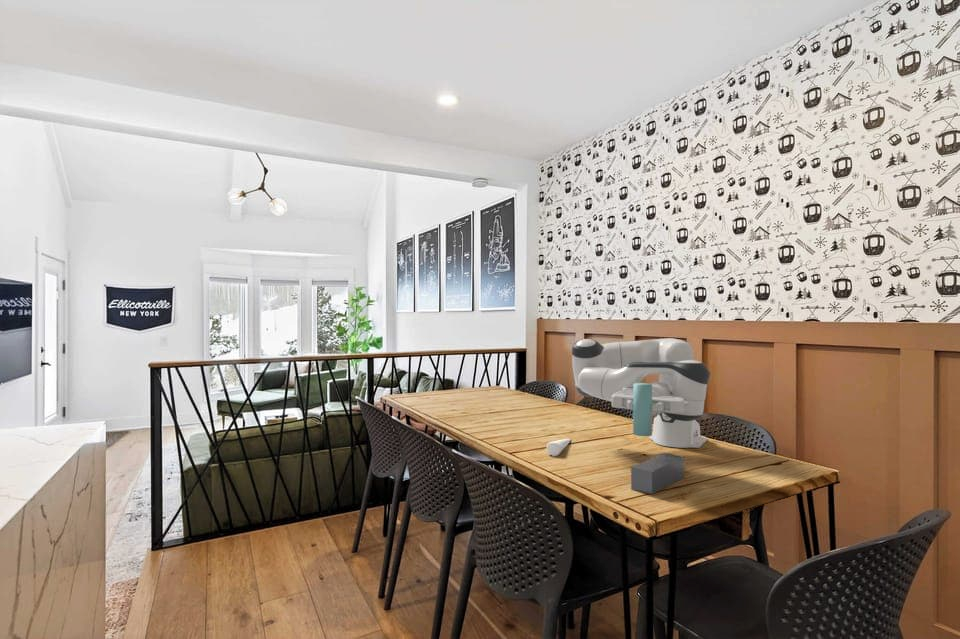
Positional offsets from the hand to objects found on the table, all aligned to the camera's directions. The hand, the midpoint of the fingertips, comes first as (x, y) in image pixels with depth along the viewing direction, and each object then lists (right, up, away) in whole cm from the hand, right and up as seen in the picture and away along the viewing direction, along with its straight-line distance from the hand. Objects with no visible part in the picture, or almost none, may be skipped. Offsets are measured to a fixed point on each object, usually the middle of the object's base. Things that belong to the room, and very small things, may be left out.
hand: (642, 407), depth 136 cm
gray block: (+5, -22, +2) cm, 23 cm away
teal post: (0, -8, +1) cm, 8 cm away
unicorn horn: (-16, -22, +40) cm, 48 cm away
